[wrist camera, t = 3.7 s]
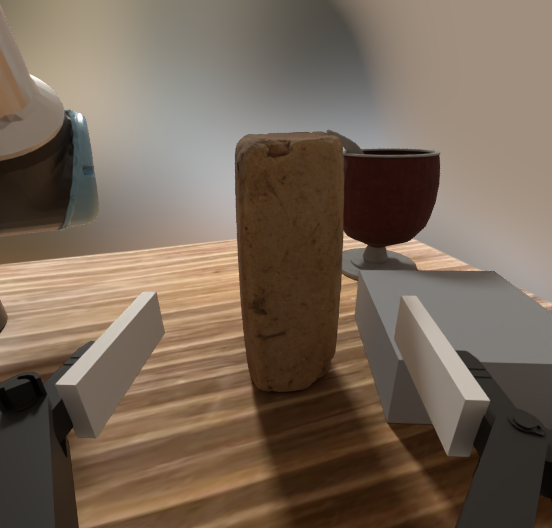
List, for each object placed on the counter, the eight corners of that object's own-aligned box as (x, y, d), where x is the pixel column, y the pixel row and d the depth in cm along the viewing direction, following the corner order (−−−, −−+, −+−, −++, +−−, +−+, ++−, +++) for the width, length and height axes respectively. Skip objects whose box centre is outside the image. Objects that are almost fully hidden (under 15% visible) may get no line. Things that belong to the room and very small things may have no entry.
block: (339, 394, 25) (362, 131, 17) (248, 406, 24) (227, 134, 16) (308, 320, 35) (313, 130, 27) (243, 326, 34) (227, 132, 26)
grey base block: (387, 422, 23) (398, 359, 20) (354, 316, 35) (359, 269, 33) (586, 430, 22) (624, 366, 19) (479, 318, 34) (494, 271, 32)
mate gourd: (399, 248, 55) (418, 127, 46) (439, 284, 42) (476, 126, 34) (314, 251, 54) (318, 129, 46) (328, 288, 42) (338, 129, 33)
